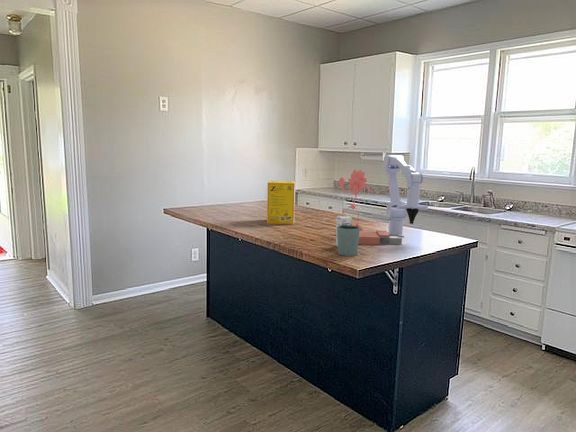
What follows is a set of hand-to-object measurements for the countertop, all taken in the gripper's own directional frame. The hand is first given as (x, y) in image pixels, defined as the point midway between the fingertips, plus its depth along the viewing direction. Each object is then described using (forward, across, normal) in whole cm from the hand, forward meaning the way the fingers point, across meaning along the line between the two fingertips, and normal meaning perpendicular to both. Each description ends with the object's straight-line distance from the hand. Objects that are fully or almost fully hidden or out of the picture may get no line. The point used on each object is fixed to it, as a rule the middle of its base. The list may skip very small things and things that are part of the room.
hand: (411, 223), depth 222 cm
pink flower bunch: (+10, -26, +21) cm, 35 cm away
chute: (+10, -11, -3) cm, 15 cm away
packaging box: (+10, -70, +48) cm, 86 cm away
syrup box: (+10, -34, -16) cm, 39 cm away
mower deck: (+9, -16, -1) cm, 19 cm away
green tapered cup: (+10, -33, -30) cm, 46 cm away
